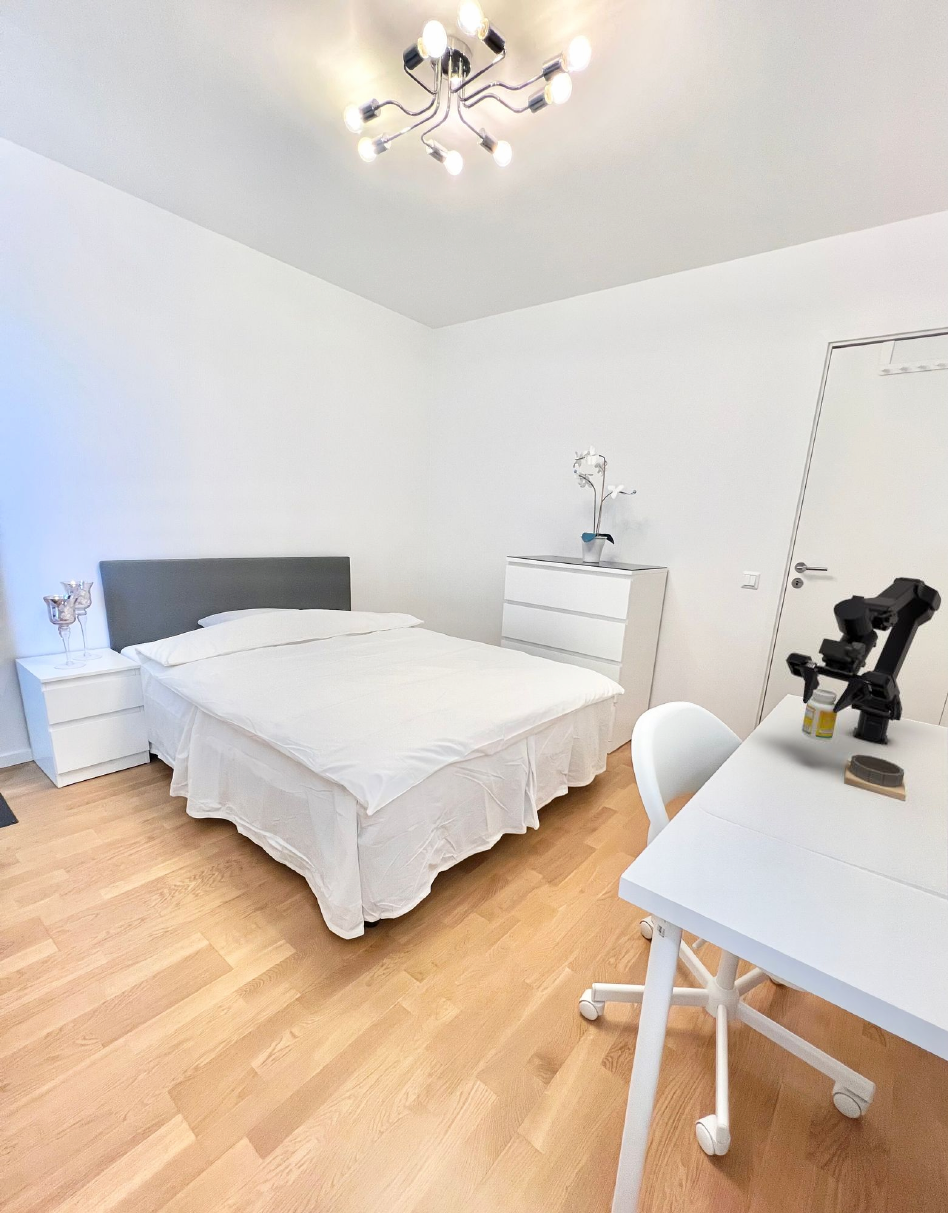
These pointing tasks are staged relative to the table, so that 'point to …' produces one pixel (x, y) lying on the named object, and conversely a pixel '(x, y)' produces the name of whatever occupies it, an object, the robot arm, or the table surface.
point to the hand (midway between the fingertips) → (818, 707)
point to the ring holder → (876, 776)
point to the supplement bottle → (820, 716)
